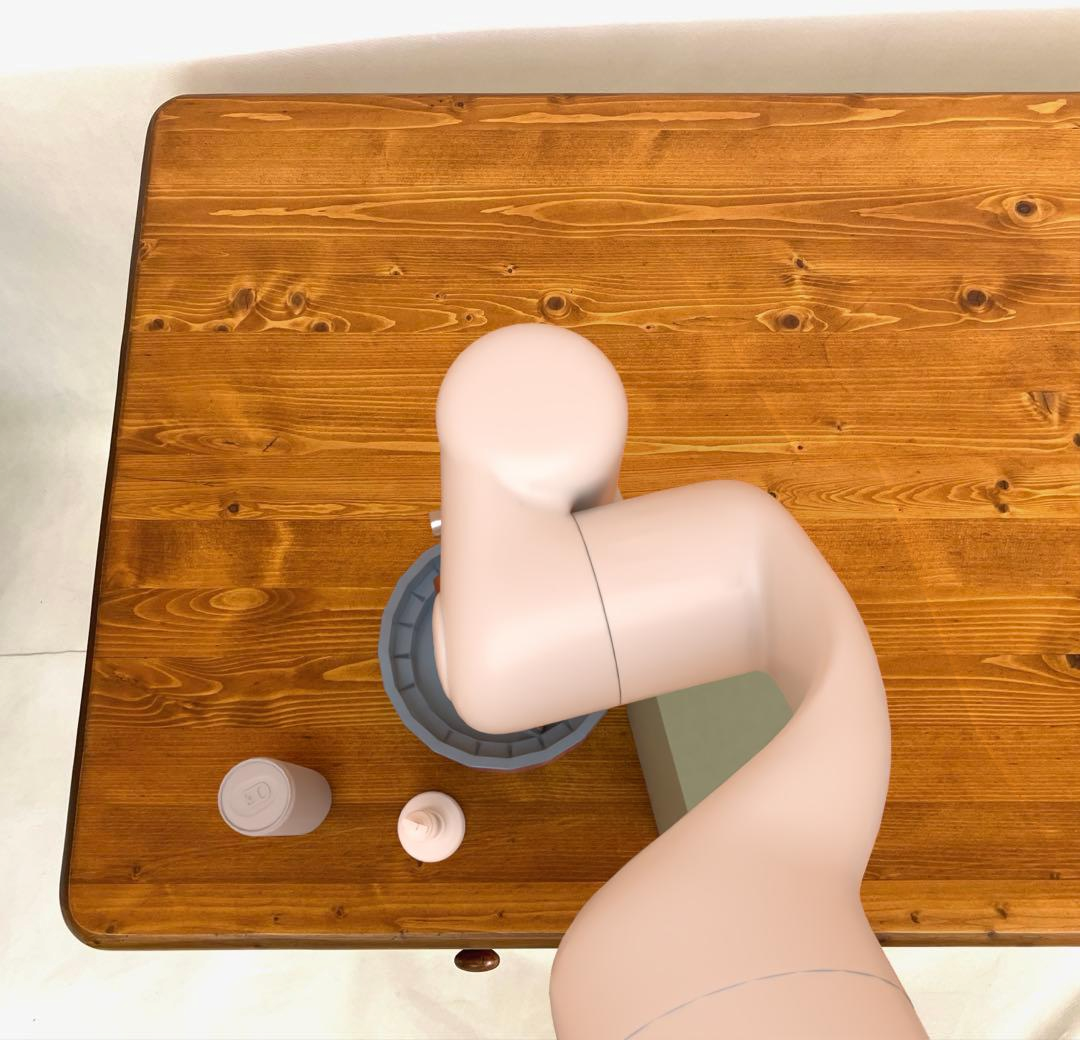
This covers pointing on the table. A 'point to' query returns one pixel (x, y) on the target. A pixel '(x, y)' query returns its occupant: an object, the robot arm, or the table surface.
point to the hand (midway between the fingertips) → (539, 592)
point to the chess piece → (431, 826)
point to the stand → (703, 738)
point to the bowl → (425, 701)
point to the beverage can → (273, 798)
